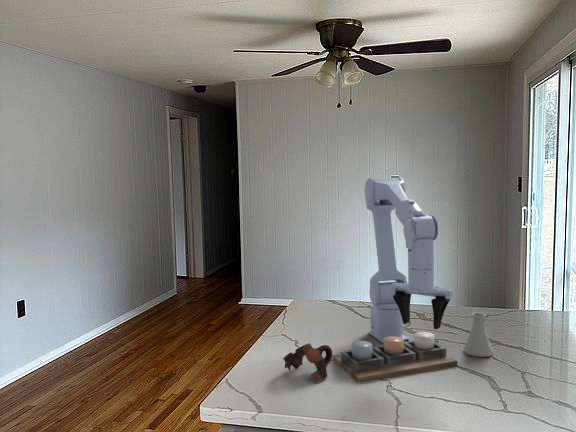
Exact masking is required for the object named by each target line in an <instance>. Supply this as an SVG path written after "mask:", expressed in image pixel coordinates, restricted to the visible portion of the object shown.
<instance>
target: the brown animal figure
mask: <svg viewBox="0 0 576 432" xmlns="http://www.w3.org/2000/svg"><path fill="white" fill-rule="evenodd" d="M294 351H295V352H289V353H288V354H286V355H285V356H284V357H283V358H282V359H283V361H284V369H288V370H289V371H291V368H292V367H293V368H294V369H295V370H298V369H299V368H300V367H301V366H303V365H304V363H303V358H304V356H305V358H306V359H307V361H308V362H309V363H311V364H314V366H315V367H316V371H314V372H313V373H311V374H310V376H311V379H312V381H313V382H314V385H315V384H317V383H319V382H321V381H323V380H325V379H326V378H327V377H328V370H327V367H328V365H329V364H330V362H331V360H333V350H332V348H331V346H329V345H327V344H322V345H321V346H319V347H313V345H312V343H305V344H304V345H301V346H299V347H298V348H296V349H295V350H294ZM324 352H325V357H324V356H323V353H324Z"/></svg>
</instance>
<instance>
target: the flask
mask: <svg viewBox="0 0 576 432" xmlns="http://www.w3.org/2000/svg"><path fill="white" fill-rule="evenodd" d="M471 316H472V321H473V322H472V325H471V330H470V332H469V335H468V338H467V340H466V342H465V345H464V348H463V350H462V351H463V353H465V354H466V355H468V356H472V357H478V358H485V357H492V356H493V354H494V350H493V347H492V345H491V342H490V339H489V336H488V333H487V329H486V325H485V324H486V323H485V317H486V314H485V313H484V312H472V314H471Z"/></svg>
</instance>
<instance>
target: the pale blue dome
mask: <svg viewBox="0 0 576 432" xmlns="http://www.w3.org/2000/svg"><path fill="white" fill-rule="evenodd" d="M372 347H373V344H372V342H370V341H366V340H357V341H353V342H352V343H351V350H352V358H353V359H354V360H356V361H362V360H368V359H372Z"/></svg>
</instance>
